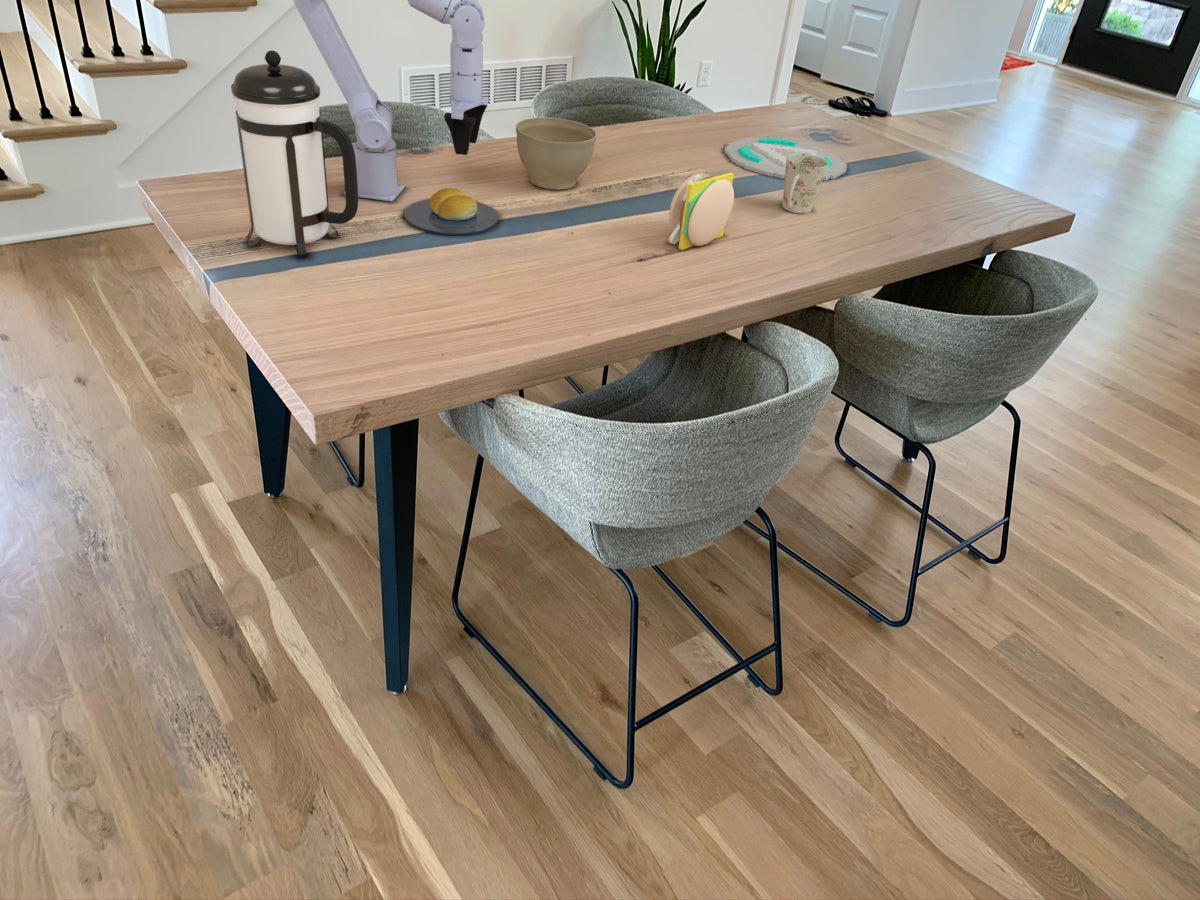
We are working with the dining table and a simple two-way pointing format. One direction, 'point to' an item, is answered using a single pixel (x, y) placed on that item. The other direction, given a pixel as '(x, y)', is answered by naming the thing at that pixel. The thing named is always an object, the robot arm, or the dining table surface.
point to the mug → (802, 181)
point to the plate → (432, 223)
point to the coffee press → (288, 155)
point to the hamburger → (701, 209)
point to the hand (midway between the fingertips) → (466, 148)
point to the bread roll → (453, 204)
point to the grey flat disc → (778, 155)
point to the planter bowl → (554, 150)
